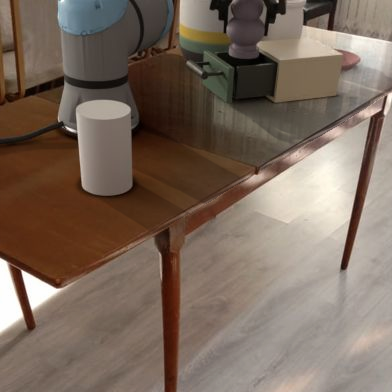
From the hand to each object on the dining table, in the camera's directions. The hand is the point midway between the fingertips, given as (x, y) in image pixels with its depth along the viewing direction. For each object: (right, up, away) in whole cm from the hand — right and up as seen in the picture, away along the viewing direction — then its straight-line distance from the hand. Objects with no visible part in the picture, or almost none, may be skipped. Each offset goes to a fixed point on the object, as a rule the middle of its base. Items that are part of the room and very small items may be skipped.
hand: (245, 28), depth 131 cm
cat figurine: (0, -6, 0) cm, 6 cm away
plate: (+23, +4, +25) cm, 34 cm away
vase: (-6, +3, +22) cm, 23 cm away
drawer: (-2, -11, +4) cm, 12 cm away
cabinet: (+11, -9, +10) cm, 17 cm away
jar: (+9, +2, +22) cm, 24 cm away
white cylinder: (-25, -41, -30) cm, 56 cm away
